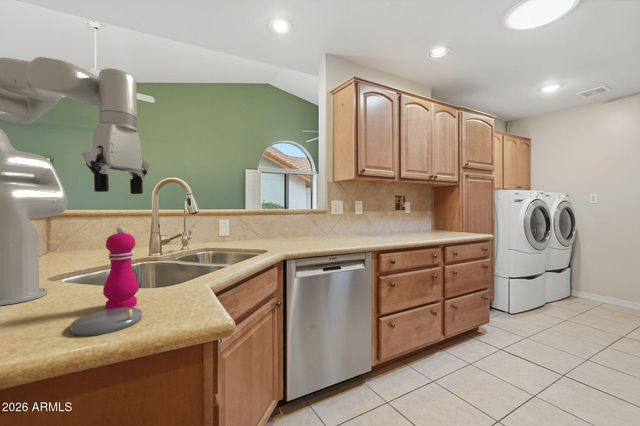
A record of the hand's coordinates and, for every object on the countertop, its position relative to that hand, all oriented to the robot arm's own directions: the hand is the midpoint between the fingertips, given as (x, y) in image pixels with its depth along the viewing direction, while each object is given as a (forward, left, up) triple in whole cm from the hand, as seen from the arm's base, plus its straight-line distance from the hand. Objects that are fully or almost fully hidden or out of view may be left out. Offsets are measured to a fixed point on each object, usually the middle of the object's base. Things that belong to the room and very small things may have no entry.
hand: (120, 192), depth 68 cm
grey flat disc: (+6, -9, -28) cm, 30 cm away
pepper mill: (0, 0, -29) cm, 29 cm away
